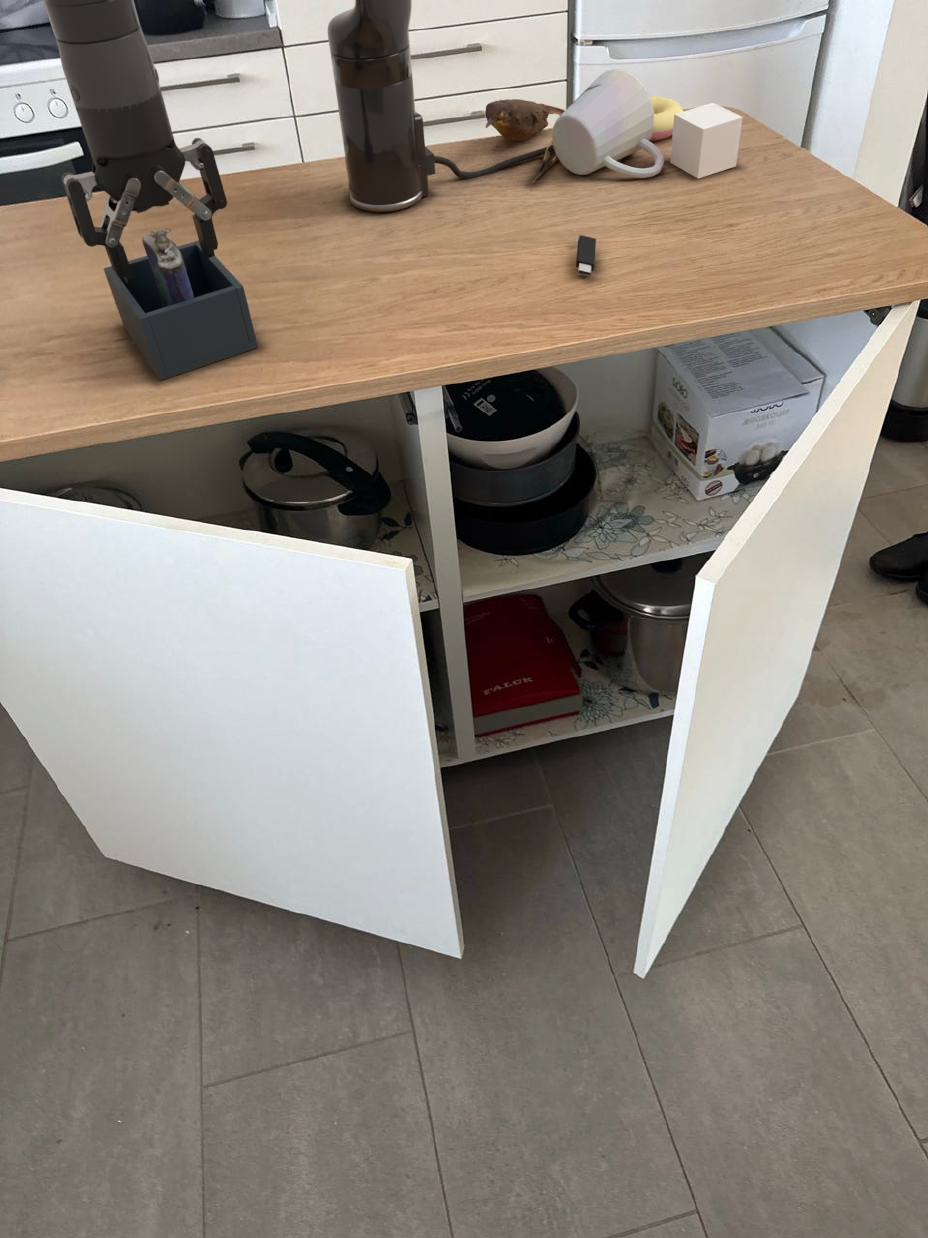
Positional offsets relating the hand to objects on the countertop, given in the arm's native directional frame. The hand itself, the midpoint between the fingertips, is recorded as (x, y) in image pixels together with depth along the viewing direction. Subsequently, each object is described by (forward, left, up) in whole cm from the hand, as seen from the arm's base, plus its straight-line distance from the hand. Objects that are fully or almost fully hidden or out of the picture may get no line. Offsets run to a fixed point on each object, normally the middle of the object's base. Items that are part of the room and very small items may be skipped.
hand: (168, 266), depth 94 cm
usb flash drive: (-43, +11, -7) cm, 45 cm away
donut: (-74, -10, -7) cm, 75 cm away
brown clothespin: (-54, -13, -8) cm, 57 cm away
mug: (-56, -7, -5) cm, 56 cm away
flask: (0, 0, -7) cm, 7 cm away
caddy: (0, 0, -8) cm, 8 cm away
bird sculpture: (-58, -24, -8) cm, 63 cm away
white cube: (-70, +2, -1) cm, 70 cm away
